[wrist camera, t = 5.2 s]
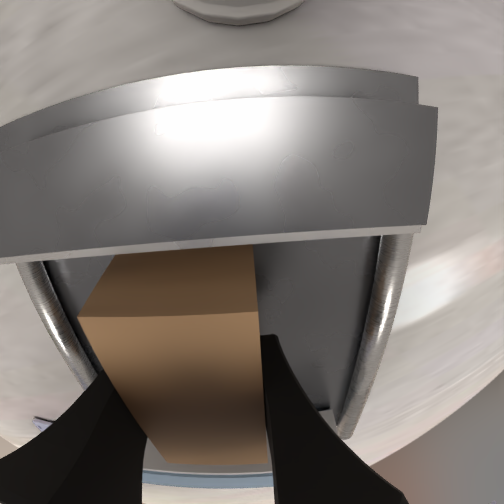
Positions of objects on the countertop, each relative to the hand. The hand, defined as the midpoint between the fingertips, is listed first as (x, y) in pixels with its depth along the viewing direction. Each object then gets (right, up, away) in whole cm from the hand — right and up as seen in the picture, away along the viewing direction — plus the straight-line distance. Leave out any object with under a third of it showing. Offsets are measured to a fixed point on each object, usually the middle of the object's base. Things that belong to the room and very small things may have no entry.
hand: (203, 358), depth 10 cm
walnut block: (0, +1, +2) cm, 2 cm away
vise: (0, +1, +3) cm, 3 cm away
